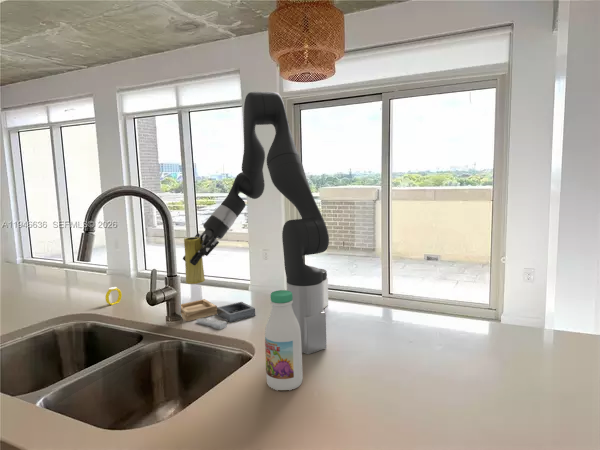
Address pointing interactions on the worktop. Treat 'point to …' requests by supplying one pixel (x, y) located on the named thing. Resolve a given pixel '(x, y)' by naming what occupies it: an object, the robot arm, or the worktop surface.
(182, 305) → the wooden tray
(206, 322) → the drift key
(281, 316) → the milk bottle
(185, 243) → the vase
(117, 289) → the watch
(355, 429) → the worktop surface
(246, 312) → the grey square shallow tray
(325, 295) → the jar
